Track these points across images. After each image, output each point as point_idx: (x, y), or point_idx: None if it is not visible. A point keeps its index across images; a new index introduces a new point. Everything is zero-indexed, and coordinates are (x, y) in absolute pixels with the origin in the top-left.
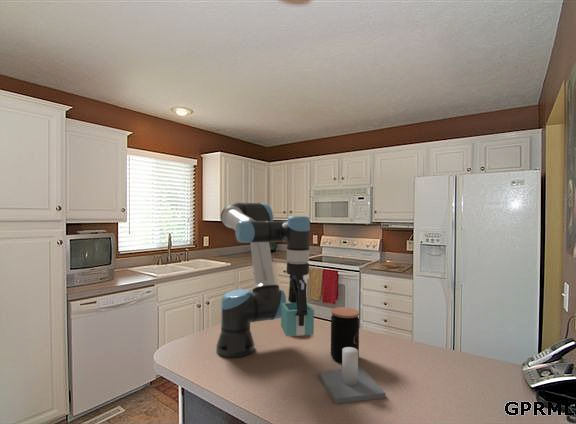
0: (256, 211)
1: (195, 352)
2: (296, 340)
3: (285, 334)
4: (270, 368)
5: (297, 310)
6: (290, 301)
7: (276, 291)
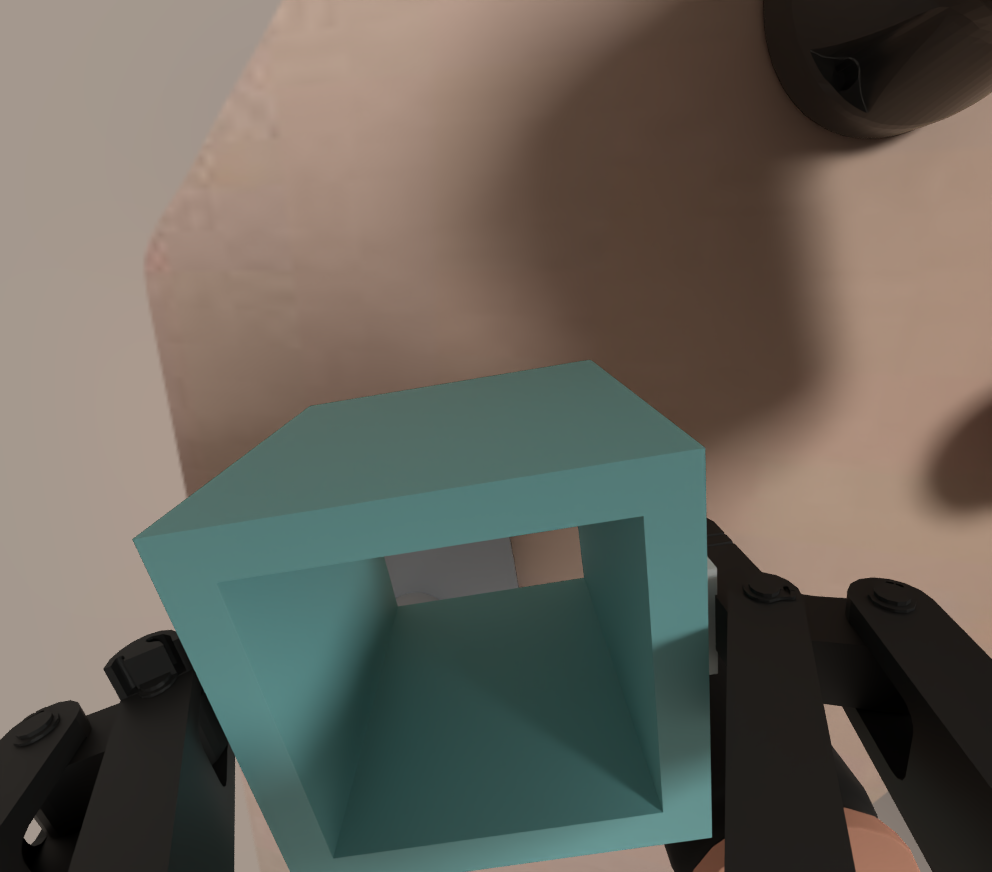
0: None
1: None
2: (920, 426)
3: (349, 399)
4: (594, 260)
5: (152, 720)
6: (739, 628)
7: None
